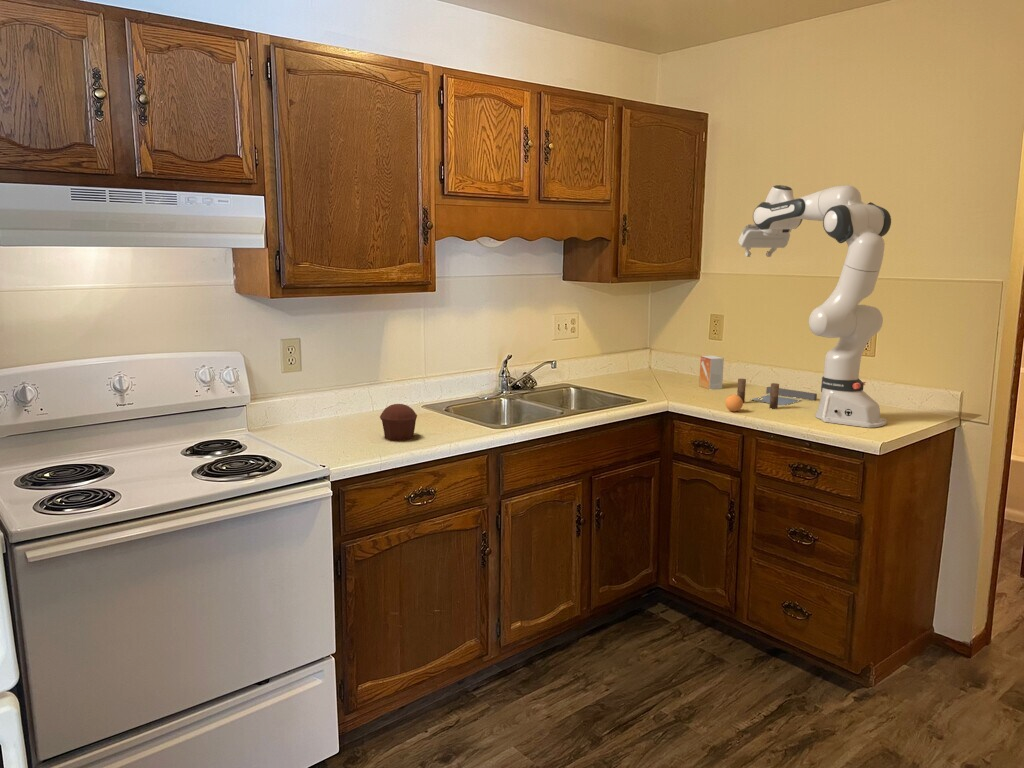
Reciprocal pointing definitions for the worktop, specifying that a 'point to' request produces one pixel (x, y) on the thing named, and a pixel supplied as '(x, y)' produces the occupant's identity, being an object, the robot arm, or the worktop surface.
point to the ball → (734, 403)
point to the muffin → (398, 422)
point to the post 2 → (774, 395)
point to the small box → (711, 372)
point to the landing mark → (780, 400)
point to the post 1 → (741, 389)
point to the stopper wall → (795, 393)
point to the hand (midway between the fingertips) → (757, 256)
